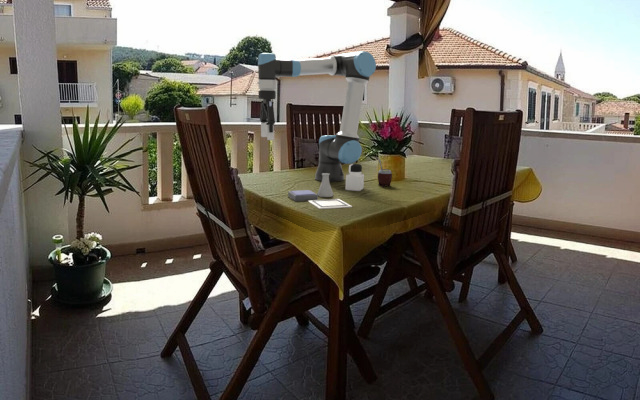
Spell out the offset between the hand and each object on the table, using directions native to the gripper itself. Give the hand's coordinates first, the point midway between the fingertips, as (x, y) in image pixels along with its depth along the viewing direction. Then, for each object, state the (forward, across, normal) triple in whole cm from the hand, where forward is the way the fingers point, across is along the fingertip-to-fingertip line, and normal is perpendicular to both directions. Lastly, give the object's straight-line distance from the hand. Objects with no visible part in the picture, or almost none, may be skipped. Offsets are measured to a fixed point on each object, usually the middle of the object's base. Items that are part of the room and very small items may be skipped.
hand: (267, 138), depth 220 cm
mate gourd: (+24, 0, +59) cm, 64 cm away
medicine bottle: (+24, +5, +41) cm, 48 cm away
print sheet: (+24, +33, +19) cm, 45 cm away
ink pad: (+24, +19, +11) cm, 33 cm away
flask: (+24, +17, +22) cm, 37 cm away
